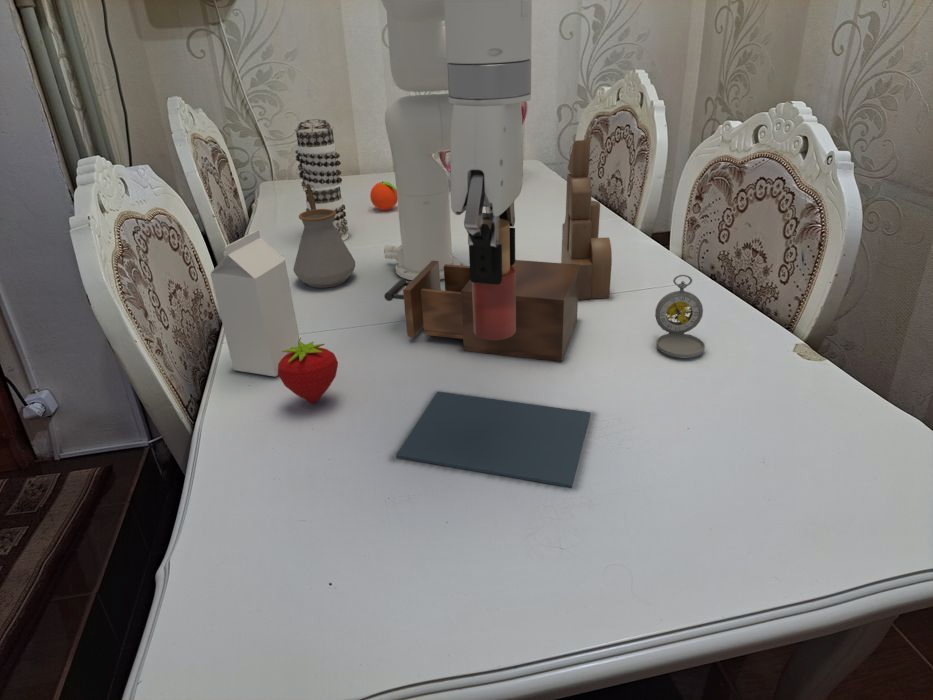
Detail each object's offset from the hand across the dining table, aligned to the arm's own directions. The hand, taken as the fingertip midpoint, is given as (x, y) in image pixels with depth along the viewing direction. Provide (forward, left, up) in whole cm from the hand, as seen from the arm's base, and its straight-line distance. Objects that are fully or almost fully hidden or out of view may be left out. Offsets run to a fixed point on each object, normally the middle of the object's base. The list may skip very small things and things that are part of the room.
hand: (493, 271), depth 67 cm
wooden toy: (+3, +49, -21) cm, 53 cm away
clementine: (-52, +86, -21) cm, 103 cm away
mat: (0, 0, -21) cm, 21 cm away
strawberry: (-25, +1, -21) cm, 33 cm away
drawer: (-15, +26, -20) cm, 36 cm away
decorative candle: (-56, +63, -21) cm, 87 cm away
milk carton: (-37, +9, -21) cm, 43 cm away
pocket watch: (+20, +28, -21) cm, 40 cm away
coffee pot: (-47, +44, -21) cm, 68 cm away
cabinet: (-3, +26, -21) cm, 33 cm away
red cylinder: (0, 0, -7) cm, 7 cm away
